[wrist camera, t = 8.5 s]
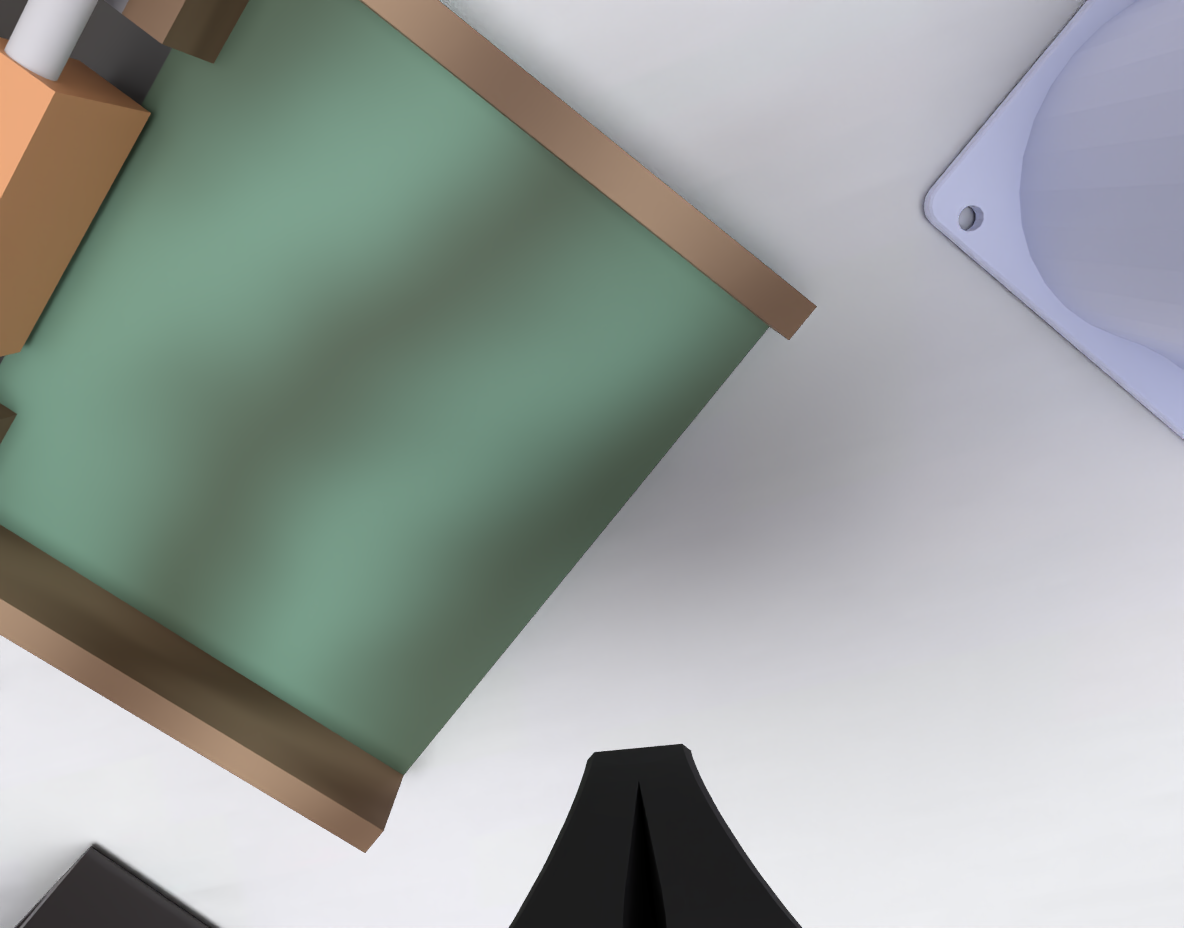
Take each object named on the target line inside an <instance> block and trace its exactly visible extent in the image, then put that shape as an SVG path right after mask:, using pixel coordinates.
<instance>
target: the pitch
mask: <svg viewBox="0 0 1184 928" xmlns="http://www.w3.org/2000/svg"><path fill="white" fill-rule="evenodd" d="M27 2H28V0H0V37H1V38H4V39H8V40H9V39H10V37H11V35H12V33H13V31H14V29H15V27H16V25H17V23H18V21H19V18H20V16H21V14H22V12H23V10H24V8H25V6H26V4H27ZM69 58H73V59H76V60H79V61H81V62H82V63H83V64H85V65H86V66H87V67H89V68H90V69H92V70H93V71H94V72H96V73H97V74H98V75H100V76H101V77H102V78H104V79H105V80H107V81H108V82H109V83H111V84H112V85H113V86H115V87H116V88H117V89H119V90H120V91H122V92H123V93H124V94H126V95H127V96H128V97H130V98H131V99H132V100H134V101H135V102H137V103H138V104H139V105H141V106H142V107H143V108H145V109H146V110H147V111H149V112H150V113H151V114H150V116H149V118H148V120H147V121H146V123H145V125H144V127H143V129H142V131H141V132H140V134H139V136H138V138H137V140H136V142H135V143H134V145H133V147H132V149H131V151H130V152H129V154H128V156H127V158H126V160H125V162H124V163H123V165H122V167H121V169H120V171H119V173H118V174H117V176H116V178H115V180H114V182H113V183H112V185H111V187H110V189H109V191H108V193H107V194H106V196H105V198H104V200H103V202H102V204H101V205H100V207H99V209H98V211H97V213H96V214H95V216H94V218H93V220H92V222H91V224H90V225H89V227H88V229H87V231H86V233H85V234H84V236H83V238H82V240H81V242H80V244H79V245H78V247H77V249H76V251H75V253H74V255H73V256H72V258H71V260H70V262H69V264H68V265H67V267H66V269H65V271H64V273H63V275H62V276H61V278H60V280H59V282H58V284H57V286H56V287H55V289H54V291H53V293H52V295H51V296H50V298H49V300H48V302H47V304H46V306H45V307H44V309H43V311H42V313H41V315H40V317H39V318H38V320H37V322H36V324H35V326H34V327H33V329H32V331H31V333H30V335H29V337H28V338H27V340H26V342H25V344H24V346H23V347H22V349H21V351H20V352H18V353H14V354H10V355H5V356H1V357H0V635H2V636H3V637H5V638H7V639H8V640H10V641H12V642H13V643H15V644H17V645H18V646H20V647H22V648H23V649H25V650H27V651H28V652H30V653H32V654H33V655H35V656H37V657H38V658H40V659H42V660H43V661H45V662H47V663H48V664H50V665H52V666H53V667H55V668H57V669H58V670H60V671H62V672H63V673H65V674H67V675H68V676H70V677H72V678H73V679H75V680H77V681H78V682H80V683H82V684H83V685H85V686H87V687H89V688H90V689H92V690H94V691H95V692H97V693H99V694H100V695H102V696H104V697H105V698H107V699H109V700H110V701H112V702H114V703H115V704H117V705H119V706H120V707H122V708H124V709H125V710H127V711H129V712H130V713H132V714H134V715H135V716H137V717H139V718H140V719H142V720H144V721H145V722H147V723H149V724H150V725H152V726H154V727H155V728H157V729H159V730H160V731H162V732H164V733H165V734H167V735H169V736H170V737H172V738H174V739H175V740H177V741H179V742H180V743H182V744H184V745H185V746H187V747H189V748H190V749H192V750H194V751H195V752H197V753H199V754H200V755H202V756H204V757H206V758H207V759H209V760H211V761H212V762H214V763H216V764H217V765H219V766H221V767H222V768H224V769H226V770H227V771H229V772H231V773H232V774H234V775H236V776H237V777H239V778H241V779H242V780H244V781H246V782H247V783H249V784H251V785H252V786H254V787H256V788H257V789H259V790H261V791H262V792H264V793H266V794H267V795H269V796H271V797H272V798H274V799H276V800H277V801H279V802H281V803H282V804H284V805H286V806H287V807H289V808H291V809H292V810H294V811H296V812H297V813H299V814H301V815H302V816H304V817H306V818H307V819H309V820H311V821H312V822H314V823H316V824H317V825H319V826H321V827H323V828H324V829H326V830H328V831H329V832H331V833H333V834H334V835H336V836H338V837H339V838H341V839H343V840H344V841H346V842H348V843H349V844H351V845H353V846H354V847H356V848H358V849H359V850H361V851H363V852H364V853H366V851H367V850H368V849H369V848H370V847H371V845H372V844H373V843H374V842H375V841H376V839H377V838H378V837H379V836H380V834H381V833H382V832H383V831H384V828H385V825H386V823H387V820H388V817H389V814H390V811H391V809H392V806H393V803H394V800H395V798H396V795H397V792H398V789H399V787H400V784H401V781H402V778H403V775H404V774H405V773H406V772H407V771H408V769H409V768H410V767H411V766H412V764H413V763H414V762H415V761H416V759H417V758H418V757H419V756H420V755H421V753H422V752H423V751H424V750H425V748H426V747H427V746H428V745H429V744H430V742H431V741H432V740H433V739H434V737H435V736H436V735H437V734H438V733H439V731H440V730H441V729H442V728H443V726H444V725H445V724H446V723H447V721H448V720H449V719H450V718H451V717H452V715H453V714H454V713H455V712H456V710H457V709H458V708H459V707H460V706H461V704H462V703H463V702H464V701H465V699H466V698H467V697H468V696H469V694H470V693H471V692H472V691H473V690H474V688H475V687H476V686H477V685H478V683H479V682H480V681H481V680H482V679H483V677H484V676H485V675H486V674H487V672H488V671H489V670H490V669H491V667H492V666H493V665H494V664H495V663H496V661H497V660H498V659H499V658H500V656H501V655H502V654H503V653H504V652H505V650H506V649H507V648H508V647H509V645H510V644H511V643H512V642H513V641H514V639H515V638H516V637H517V636H518V634H519V633H520V632H521V631H522V629H523V628H524V627H525V626H526V625H527V623H528V622H529V621H530V620H531V618H532V617H533V616H534V615H535V614H536V612H537V611H538V610H539V609H540V607H541V606H542V605H543V604H544V602H545V601H546V600H547V599H548V598H549V596H550V595H551V594H552V593H553V591H554V590H555V589H556V588H557V587H558V585H559V584H560V583H561V582H562V580H563V579H564V578H565V577H566V575H567V574H568V573H569V572H570V571H571V569H572V568H573V567H574V566H575V564H576V563H577V562H578V561H579V560H580V558H581V557H582V556H583V555H584V553H585V552H586V551H587V550H588V549H589V547H590V546H591V545H592V544H593V542H594V541H595V540H596V539H597V537H598V536H599V535H600V534H601V533H602V531H603V530H604V529H605V528H606V526H607V525H608V524H609V523H610V522H611V520H612V519H613V518H614V517H615V515H616V514H617V513H618V512H619V510H620V509H621V508H622V507H623V506H624V504H625V503H626V502H627V501H628V499H629V498H630V497H631V496H632V495H633V493H634V492H635V491H636V490H637V488H638V487H639V486H640V485H641V484H642V482H643V481H644V480H645V479H646V477H647V476H648V475H649V474H650V472H651V471H652V470H653V469H654V468H655V466H656V465H657V464H658V463H659V461H660V460H661V459H662V458H663V457H664V455H665V454H666V453H667V452H668V450H669V449H670V448H671V447H672V445H673V444H674V443H675V442H676V441H677V439H678V438H679V437H680V436H681V434H682V433H683V432H684V431H685V430H686V428H687V427H688V426H689V425H690V423H691V422H692V421H693V420H694V418H695V417H696V416H697V415H698V414H699V412H700V411H701V410H702V409H703V407H704V406H705V405H706V404H707V403H708V401H709V400H710V399H711V398H712V396H713V395H714V394H715V393H716V392H717V390H718V389H719V388H720V387H721V385H722V384H723V383H724V382H725V380H726V379H727V378H728V377H729V376H730V374H731V373H732V372H733V371H734V369H735V368H736V367H737V366H738V365H739V363H740V362H741V361H742V360H743V358H744V357H745V356H746V355H747V353H748V352H749V351H750V350H751V349H752V347H753V346H754V345H755V344H756V342H757V341H758V340H759V339H760V338H761V336H762V335H763V334H764V333H765V331H766V330H767V329H768V328H769V327H771V328H772V329H774V330H775V331H777V332H778V333H779V334H781V335H782V336H784V337H785V338H787V339H788V340H790V338H791V337H792V336H793V335H794V334H795V332H796V331H797V330H798V329H799V328H800V326H801V325H802V324H803V323H804V321H805V320H806V319H807V318H808V317H809V315H810V314H811V313H812V312H813V311H814V309H815V308H816V307H817V306H816V305H814V304H813V303H812V302H811V301H809V300H808V299H807V298H806V297H804V296H803V295H802V294H801V293H799V292H798V291H797V290H796V289H795V288H793V287H792V286H791V285H790V284H788V283H787V282H786V281H785V280H783V279H782V278H781V277H780V276H778V275H777V274H776V273H775V272H774V271H772V270H771V269H770V268H769V267H767V266H766V265H765V264H764V263H762V262H761V261H760V260H759V259H757V258H756V257H755V256H754V255H753V254H751V253H750V252H749V251H748V250H746V249H745V248H744V247H743V246H741V245H740V244H739V243H738V242H736V241H735V240H734V239H733V238H732V237H730V236H729V235H728V234H727V233H725V232H724V231H723V230H722V229H720V228H719V227H718V226H717V225H715V224H714V223H713V222H712V221H711V220H709V219H708V218H707V217H706V216H704V215H703V214H702V213H701V212H699V211H698V210H697V209H696V208H694V207H693V206H692V205H691V204H690V203H688V202H687V201H686V200H685V199H683V198H682V197H681V196H680V195H678V194H677V193H676V192H675V191H673V190H672V189H671V188H670V187H669V186H667V185H666V184H665V183H664V182H662V181H661V180H660V179H659V178H657V177H656V176H655V175H654V174H652V173H651V172H650V171H649V170H648V169H646V168H645V167H644V166H643V165H641V164H640V163H639V162H638V161H636V160H635V159H634V158H633V157H631V156H630V155H629V154H628V153H627V152H625V151H624V150H623V149H622V148H620V147H619V146H618V145H617V144H615V143H614V142H613V141H612V140H610V139H609V138H608V137H607V136H606V135H604V134H603V133H602V132H601V131H599V130H598V129H597V128H596V127H594V126H593V125H592V124H591V123H589V122H588V121H587V120H586V119H585V118H583V117H582V116H581V115H580V114H578V113H577V112H576V111H575V110H573V109H572V108H571V107H570V106H568V105H567V104H566V103H565V102H564V101H562V100H561V99H560V98H559V97H557V96H556V95H555V94H554V93H552V92H551V91H550V90H549V89H547V88H546V87H545V86H544V85H542V84H541V83H540V82H539V81H538V80H536V79H535V78H534V77H533V76H531V75H530V74H529V73H528V72H526V71H525V70H524V69H523V68H521V67H520V66H519V65H518V64H517V63H515V62H514V61H513V60H512V59H510V58H509V57H508V56H507V55H505V54H504V53H503V52H502V51H500V50H499V49H498V48H497V47H496V46H494V45H493V44H492V43H491V42H489V41H488V40H487V39H486V38H484V37H483V36H482V35H481V34H479V33H478V32H477V31H476V30H475V29H473V28H472V27H471V26H470V25H468V24H467V23H466V22H465V21H463V20H462V19H461V18H460V17H458V16H457V15H456V14H455V13H454V12H452V11H451V10H450V9H449V8H447V7H446V6H445V5H444V4H442V3H441V2H440V1H439V0H98V2H97V4H96V6H95V8H94V10H93V12H92V14H91V16H90V18H89V20H88V22H87V23H86V25H85V27H84V29H83V31H82V33H81V35H80V37H79V39H78V41H77V43H76V45H75V47H74V49H73V51H72V53H71V55H70V57H69Z"/></svg>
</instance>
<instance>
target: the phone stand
mask: <svg viewBox="0 0 1184 928" xmlns="http://www.w3.org/2000/svg"><path fill="white" fill-rule="evenodd" d="M15 928H209V927H208V926H206V925H205V924H203V923H202V922H200V921H199V920H197V919H196V918H194V917H193V916H192V915H190V914H189V913H187V912H186V911H184V910H183V909H181V908H180V907H178V906H177V905H175V904H174V903H173V902H171V901H170V900H168V899H167V898H165V897H164V896H162V895H161V894H159V893H158V892H156V891H155V890H154V889H152V888H151V887H149V886H148V885H146V884H145V883H143V882H142V881H140V880H139V879H137V878H136V877H135V876H133V875H132V874H130V873H129V872H127V871H126V870H124V869H123V868H121V867H120V866H118V865H117V864H116V863H114V862H113V861H111V860H110V859H108V858H107V857H105V856H104V855H102V854H101V853H99V852H98V851H97V850H95V849H94V848H92V847H90V848H89V849H88V850H87V851H86V852H85V853H84V854H83V855H82V856H81V857H80V858H79V859H78V860H77V861H76V862H75V864H74V865H73V866H72V867H71V868H70V869H69V870H68V871H67V872H66V873H65V874H64V875H63V876H62V877H61V879H60V880H59V881H58V882H57V883H56V884H55V885H54V886H53V887H52V888H51V889H50V890H49V891H48V892H47V893H46V895H45V896H44V897H43V898H42V899H41V900H40V901H39V902H38V903H37V904H36V905H35V906H34V907H33V908H32V910H31V911H30V912H29V913H28V914H27V915H26V916H25V917H24V918H23V919H22V920H21V921H20V922H19V923H18V924H17V926H16V927H15Z"/></svg>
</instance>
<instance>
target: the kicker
mask: <svg viewBox="0 0 1184 928" xmlns="http://www.w3.org/2000/svg"><path fill="white" fill-rule="evenodd" d="M97 2H98V0H28V2H27V4H26V6H25V8H24V10H23V12H22V14H21V16H20V18H19V21H18V23H17V25H16V27H15V29H14V31H13V33H12V35H11V37H10V39H9V40H8V39H4V38H1V37H0V357H1V356H5V355H10V354H14V353H18V352H20V351H21V349H22V347H23V346H24V344H25V342H26V340H27V338H28V337H29V335H30V333H31V331H32V329H33V327H34V326H35V324H36V322H37V320H38V318H39V317H40V315H41V313H42V311H43V309H44V307H45V306H46V304H47V302H48V300H49V298H50V296H51V295H52V293H53V291H54V289H55V287H56V286H57V284H58V282H59V280H60V278H61V276H62V275H63V273H64V271H65V269H66V267H67V265H68V264H69V262H70V260H71V258H72V256H73V255H74V253H75V251H76V249H77V247H78V245H79V244H80V242H81V240H82V238H83V236H84V234H85V233H86V231H87V229H88V227H89V225H90V224H91V222H92V220H93V218H94V216H95V214H96V213H97V211H98V209H99V207H100V205H101V204H102V202H103V200H104V198H105V196H106V194H107V193H108V191H109V189H110V187H111V185H112V183H113V182H114V180H115V178H116V176H117V174H118V173H119V171H120V169H121V167H122V165H123V163H124V162H125V160H126V158H127V156H128V154H129V152H130V151H131V149H132V147H133V145H134V143H135V142H136V140H137V138H138V136H139V134H140V132H141V131H142V129H143V127H144V125H145V123H146V121H147V120H148V118H149V116H150V114H151V113H150V112H149V111H147V110H146V109H145V108H143V107H142V106H141V105H139V104H138V103H137V102H135V101H134V100H132V99H131V98H130V97H128V96H127V95H126V94H124V93H123V92H122V91H120V90H119V89H117V88H116V87H115V86H113V85H112V84H111V83H109V82H108V81H107V80H105V79H104V78H102V77H101V76H100V75H98V74H97V73H96V72H94V71H93V70H92V69H90V68H89V67H87V66H86V65H85V64H83V63H82V62H81V61H79V60H76V59H73V58H69V57H70V55H71V53H72V51H73V49H74V47H75V45H76V43H77V41H78V39H79V37H80V35H81V33H82V31H83V29H84V27H85V25H86V23H87V22H88V20H89V18H90V16H91V14H92V12H93V10H94V8H95V6H96V4H97Z"/></svg>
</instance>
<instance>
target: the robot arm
mask: <svg viewBox="0 0 1184 928" xmlns="http://www.w3.org/2000/svg"><path fill="white" fill-rule="evenodd" d="M967 206H969V207H971V208H973V210H974V212H975V213H976V220H975V222H974V224H973V226H972V227H971V228H969V229H968V230H966V231H965V230H963V229H962V228H961V227H960V225H959V215H960V213H961V211H962V210H963V209H964V208H966V207H967ZM924 211H925V215H926V217H927V219H928V220H929V221H930V223H931V224H933V225H934V226H935V227H936V228H937V229H938V230H940V231H941V232H942V233H943V234H944V235H945V236H947V237H948V238H949V239H950V240H951V241H952V242H954V243H955V244H956V245H957V246H958V247H959V248H961V249H962V250H963V251H964V252H965V253H966V254H968V255H969V256H970V257H971V258H972V259H973V260H975V261H976V262H977V263H978V264H979V265H980V266H982V267H983V268H984V269H985V270H986V271H987V272H989V273H990V274H991V275H992V276H993V277H994V278H996V279H997V280H998V281H999V282H1000V283H1001V284H1003V285H1004V286H1005V287H1006V288H1007V289H1008V290H1010V291H1011V292H1012V293H1013V294H1014V295H1015V296H1017V297H1018V298H1019V299H1020V300H1021V301H1022V302H1024V303H1025V304H1026V305H1027V306H1028V307H1029V308H1031V309H1032V310H1033V311H1034V312H1035V313H1036V314H1038V315H1039V316H1040V317H1041V318H1042V319H1044V320H1045V321H1046V322H1047V323H1048V324H1049V325H1051V326H1052V327H1053V328H1054V329H1055V330H1056V331H1058V332H1059V333H1060V334H1061V335H1062V336H1063V337H1065V338H1066V339H1067V340H1068V341H1069V342H1070V343H1072V344H1073V345H1074V346H1075V347H1076V348H1077V349H1079V350H1080V351H1081V352H1082V353H1083V354H1084V355H1086V356H1087V357H1088V358H1089V359H1090V360H1091V361H1093V362H1094V363H1095V364H1096V365H1097V366H1098V367H1100V368H1101V369H1102V370H1103V371H1104V372H1105V373H1107V374H1108V375H1109V376H1110V377H1111V378H1112V379H1114V380H1115V381H1116V382H1117V383H1118V384H1119V385H1121V386H1122V387H1123V388H1124V389H1125V390H1126V391H1128V392H1129V393H1130V394H1131V395H1132V396H1133V397H1135V398H1136V399H1137V400H1138V401H1139V402H1140V403H1142V404H1143V405H1144V406H1145V407H1146V408H1147V409H1149V410H1150V411H1151V412H1152V413H1153V414H1154V415H1156V416H1157V417H1158V418H1159V419H1160V420H1161V421H1163V422H1164V423H1165V424H1166V425H1167V426H1168V427H1170V428H1171V429H1172V430H1173V431H1174V432H1175V433H1177V434H1178V435H1179V436H1180V437H1181V438H1182V439H1184V0H1087V1H1086V2H1085V4H1084V5H1083V6H1082V7H1081V8H1080V10H1079V11H1078V12H1077V13H1076V14H1075V16H1074V17H1073V18H1072V19H1071V20H1070V22H1069V23H1068V24H1067V25H1066V26H1065V28H1064V29H1063V30H1062V31H1061V32H1060V34H1059V35H1058V36H1057V37H1056V38H1055V40H1054V41H1053V42H1052V43H1051V44H1050V46H1049V47H1048V48H1047V49H1046V50H1045V52H1044V53H1043V54H1042V55H1041V56H1040V58H1039V59H1038V60H1037V61H1036V62H1035V64H1034V65H1033V66H1032V67H1031V68H1030V70H1029V71H1028V72H1027V73H1026V74H1025V76H1024V77H1023V78H1022V79H1021V80H1020V82H1019V83H1018V84H1017V85H1016V86H1015V88H1014V89H1013V90H1012V91H1011V92H1010V94H1009V95H1008V96H1007V97H1006V99H1005V100H1004V101H1003V102H1002V103H1001V105H1000V106H999V107H998V108H997V109H996V111H995V112H994V113H993V114H992V115H991V117H990V118H989V119H988V120H987V121H986V123H985V124H984V125H983V126H982V127H981V129H980V130H979V131H978V132H977V133H976V135H975V136H974V137H973V138H972V139H971V141H970V142H969V143H968V144H967V145H966V147H965V148H964V149H963V150H962V151H961V153H960V154H959V155H958V156H957V157H956V159H955V160H954V161H953V162H952V163H951V165H950V166H949V167H948V168H947V169H946V171H945V172H944V173H943V174H942V175H941V177H940V178H939V179H938V180H937V181H936V183H935V184H934V185H933V186H932V187H931V189H930V190H929V192H928V194H927V195H926V197H925V202H924ZM509 928H802V927H801V926H800V925H799V923H798V922H797V921H796V920H795V918H794V917H793V916H792V915H791V914H790V912H789V911H788V910H787V909H786V907H785V906H784V905H783V904H782V902H781V901H780V900H779V899H778V897H777V896H776V895H775V893H774V892H773V891H772V889H771V888H770V887H769V885H768V884H767V883H766V881H765V880H764V879H763V877H762V876H761V875H760V873H759V872H758V870H757V869H756V868H755V866H754V865H753V863H752V862H751V860H750V859H749V858H748V856H747V855H746V853H745V852H744V850H743V849H742V847H741V846H740V844H739V842H738V841H737V839H736V838H735V836H734V835H733V833H732V832H731V830H730V829H729V827H728V825H727V824H726V822H725V821H724V819H723V817H722V816H721V814H720V812H719V811H718V809H717V807H716V805H715V804H714V802H713V800H712V798H711V796H710V794H709V792H708V791H707V789H706V787H705V785H704V783H703V781H702V779H701V777H700V774H699V772H698V770H697V767H696V765H695V762H694V760H693V757H692V753H691V750H689V749H688V748H687V747H685V746H684V745H683V744H676V745H665V746H655V747H644V748H634V749H623V750H613V751H602V752H594V753H593V755H592V756H591V757H590V758H589V759H588V760H587V764H586V767H585V771H584V774H583V777H582V780H581V783H580V786H579V789H578V791H577V794H576V796H575V799H574V802H573V804H572V806H571V809H570V811H569V813H568V816H567V818H566V821H565V823H564V825H563V827H562V829H561V831H560V833H559V835H558V838H557V840H556V842H555V844H554V846H553V848H552V850H551V852H550V854H549V856H548V859H547V861H546V863H545V865H544V866H543V868H542V870H541V872H540V874H539V876H538V878H537V879H536V881H535V883H534V885H533V886H532V888H531V890H530V892H529V894H528V895H527V897H526V899H525V901H524V903H523V904H522V906H521V908H520V910H519V911H518V913H517V915H516V917H515V918H514V920H513V922H512V923H511V925H510V926H509Z"/></svg>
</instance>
